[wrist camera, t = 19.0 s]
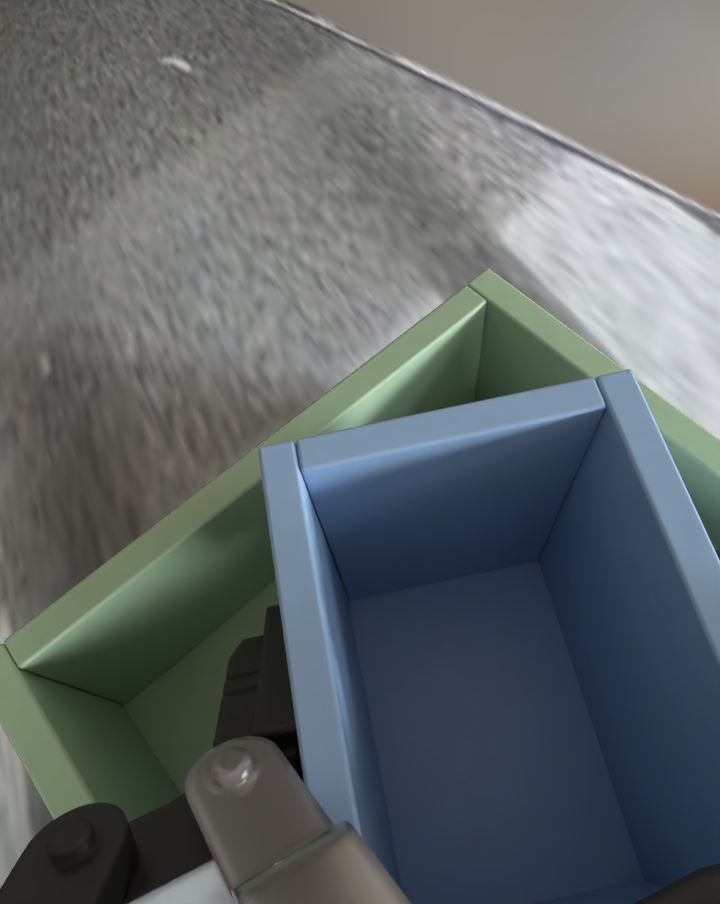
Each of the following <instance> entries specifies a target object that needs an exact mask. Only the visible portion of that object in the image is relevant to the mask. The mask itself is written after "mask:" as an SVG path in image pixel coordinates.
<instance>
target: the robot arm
mask: <svg viewBox="0 0 720 904" xmlns="http://www.w3.org/2000/svg"><path fill="white" fill-rule="evenodd" d="M715 552H716V554H717V556H718V558H719V560H720V551H719V550H717V549H715ZM0 904H412V903H411V902H410V901H409V899H408V898H407V897H406V896H405V894H404V893H403V892H402V890H401V889H400V888H399V886H398V885H397V884H396V882H395V881H394V880H393V878H392V877H391V876H390V874H389V873H388V872H387V870H386V869H385V868H384V866H383V865H382V864H381V862H380V861H379V860H378V858H377V857H376V856H375V854H374V853H373V852H372V850H371V849H370V848H369V846H368V845H367V844H366V842H365V841H364V840H363V838H362V837H361V836H360V834H359V833H358V832H357V831H356V829H355V828H354V827H353V826H352V825H351V824H350V823H349V822H348V821H347V820H342V821H341V822H339V823H337V824H336V825H334V824H333V823H332V821H331V820H330V818H329V817H328V816H327V814H326V813H325V811H324V810H323V809H322V807H321V806H320V805H319V803H318V802H317V800H316V799H315V798H314V796H313V795H312V793H311V792H310V791H309V789H308V788H307V786H306V785H305V784H304V781H303V774H302V766H301V759H300V752H299V745H298V737H297V730H296V723H295V716H294V708H293V701H292V694H291V687H290V679H289V672H288V665H287V658H286V650H285V643H284V636H283V629H282V621H281V614H280V607H279V605H275V606H270V607H267V608H266V616H265V625H264V634H263V635H261V636H256V637H252V638H247V639H243V640H242V642H241V643H240V644H239V646H238V647H237V648H236V650H235V651H234V652H233V654H232V655H231V656H230V658H229V662H228V667H227V672H226V681H225V683H224V689H223V696H222V699H221V705H220V710H219V716H218V721H217V726H216V732H215V737H214V743H213V748H212V749H211V750H209V751H208V752H207V753H205V754H204V755H203V756H202V757H201V758H200V759H199V760H198V761H197V762H196V763H195V764H194V765H193V767H192V768H191V770H190V772H189V773H188V776H187V778H186V782H185V793H183V794H182V795H181V796H179V797H178V798H176V799H175V800H173V801H172V802H170V803H168V804H166V805H164V806H162V807H160V808H158V809H156V810H154V811H152V812H149V813H147V814H145V815H143V816H141V817H139V818H137V819H135V820H133V821H130V822H128V821H127V818H126V816H125V813H124V812H123V811H122V809H121V808H119V807H118V806H116V805H114V804H111V803H104V802H103V803H92V804H87V805H83V806H80V807H77V808H75V809H72V810H70V811H68V812H66V813H64V814H63V815H61V816H59V817H58V818H56V819H55V820H53V821H52V822H50V823H49V824H48V825H47V826H45V827H44V828H43V829H42V830H41V831H40V832H39V833H38V834H37V835H36V836H35V837H34V838H33V839H32V840H31V841H30V843H29V844H28V845H27V847H26V848H25V850H24V851H23V853H22V855H21V856H20V858H19V859H18V861H17V863H16V864H15V866H14V868H13V869H12V871H11V873H10V874H9V876H8V877H7V879H6V881H5V882H4V884H3V886H2V887H1V889H0ZM634 904H720V864H715V865H711V866H706V867H702V868H699V869H697V870H695V871H693V872H692V873H690V874H688V875H686V876H684V877H682V878H681V879H679V880H677V881H675V882H673V883H671V884H669V885H668V886H666V887H664V888H662V889H660V890H658V891H656V892H655V893H653V894H651V895H649V896H647V897H645V898H644V899H642V900H640V901H638V902H636V903H634Z"/></svg>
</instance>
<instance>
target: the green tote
mask: <svg viewBox="0 0 720 904" xmlns="http://www.w3.org/2000/svg"><path fill="white" fill-rule="evenodd" d="M624 370H625V369H623V368H622V367H620V366H619V365H618V364H616V363H615V362H614V361H612V360H611V359H610V358H608V357H607V356H606V355H604V354H603V353H602V352H600V351H599V350H598V349H596V348H595V347H594V346H592V345H591V344H590V343H588V342H587V341H585V340H584V339H583V338H581V337H580V336H579V335H577V334H576V333H575V332H573V331H572V330H571V329H569V328H568V327H567V326H565V325H564V324H563V323H561V322H560V321H559V320H557V319H556V318H555V317H553V316H552V315H550V314H549V313H548V312H546V311H545V310H544V309H542V308H541V307H540V306H538V305H537V304H536V303H534V302H533V301H532V300H530V299H529V298H528V297H526V296H525V295H524V294H522V293H521V292H520V291H518V290H517V289H515V288H514V287H513V286H511V285H510V284H509V283H507V282H506V281H505V280H503V279H502V278H501V277H499V276H498V275H497V274H495V273H494V272H493V271H491V270H490V269H486V270H485V271H483V272H482V273H481V274H480V275H478V276H477V277H476V278H474V279H473V280H472V281H470V282H469V283H468V285H467V286H464V287H463V288H462V289H460V290H459V291H458V292H457V293H455V294H454V295H453V296H451V297H450V298H449V299H447V300H446V301H445V302H444V303H442V304H441V305H440V306H438V307H437V308H436V309H434V310H433V311H432V312H431V313H429V314H428V315H427V316H425V317H424V318H423V319H421V320H420V321H419V322H418V323H416V324H415V325H414V326H412V327H411V328H410V329H408V330H407V331H406V332H405V333H403V334H402V335H401V336H399V337H398V338H397V339H395V340H394V341H393V342H392V343H390V344H389V345H388V346H386V347H385V348H384V349H382V350H381V351H380V352H379V353H377V354H376V355H375V356H373V357H372V358H371V359H369V360H368V361H367V362H366V363H364V364H363V365H362V366H360V367H359V368H358V369H356V370H355V371H354V372H353V373H351V374H350V375H349V376H347V377H346V378H345V379H343V380H342V381H341V382H340V383H338V384H337V385H336V386H334V387H333V388H332V389H330V390H329V391H328V392H327V393H325V394H324V395H323V396H321V397H320V398H319V399H318V400H316V401H315V402H314V403H312V404H311V405H310V406H308V407H307V408H306V409H305V410H303V411H302V412H301V413H299V414H298V415H297V416H295V417H294V418H293V419H292V420H290V421H289V422H288V423H286V424H285V425H284V426H282V427H281V428H280V429H279V430H277V431H276V432H275V433H273V434H272V435H271V436H269V437H268V438H267V439H266V440H264V441H263V442H262V443H260V444H259V445H258V446H256V447H255V448H254V449H253V450H251V451H250V452H249V453H247V454H246V455H245V456H243V457H242V458H241V459H240V460H238V461H237V462H236V463H234V464H233V465H232V466H230V467H229V468H228V469H227V470H225V471H224V472H223V473H221V474H220V475H219V476H217V477H216V478H215V479H214V480H212V481H211V482H210V483H208V484H207V485H206V486H204V487H203V488H202V489H201V490H199V491H198V492H197V493H195V494H194V495H193V496H191V497H190V498H189V499H188V500H186V501H185V502H184V503H182V504H181V505H180V506H178V507H177V508H176V509H175V510H173V511H172V512H171V513H169V514H168V515H167V516H165V517H164V518H163V519H162V520H160V521H159V522H158V523H156V524H155V525H154V526H152V527H151V528H150V529H149V530H147V531H146V532H145V533H143V534H142V535H141V536H139V537H138V538H137V539H136V540H134V541H133V542H132V543H130V544H129V545H128V546H126V547H125V548H124V549H123V550H121V551H120V552H119V553H117V554H116V555H115V556H113V557H112V558H111V559H110V560H108V561H107V562H106V563H104V564H103V565H102V566H100V567H99V568H98V569H97V570H95V571H94V572H93V573H91V574H90V575H89V576H87V577H86V578H85V579H84V580H82V581H81V582H80V583H78V584H77V585H76V586H74V587H73V588H72V589H71V590H69V591H68V592H67V593H65V594H64V595H63V596H61V597H60V598H59V599H58V600H56V601H55V602H54V603H52V604H51V605H50V606H48V607H47V608H46V609H45V610H43V611H42V612H41V613H39V614H38V615H37V616H36V617H34V618H33V619H32V620H30V621H29V622H28V623H26V624H25V625H24V626H23V627H21V628H20V629H19V630H17V631H16V632H15V633H13V634H12V635H11V636H10V637H8V638H7V639H6V640H5V641H4V642H5V644H0V724H1V725H2V727H3V729H4V731H5V733H6V734H7V736H8V738H9V740H10V742H11V743H12V745H13V747H14V749H15V751H16V752H17V754H18V756H19V758H20V760H21V761H22V763H23V765H24V767H25V769H26V770H27V772H28V774H29V776H30V778H31V779H32V781H33V783H34V785H35V787H36V788H37V790H38V792H39V794H40V796H41V797H42V799H43V801H44V803H45V805H46V807H47V808H48V810H49V812H50V814H51V816H52V817H53V819H54V820H55V819H56V818H58V817H59V816H61V815H63V814H64V813H66V812H68V811H70V810H72V809H75V808H77V807H80V806H83V805H87V804H92V803H103V802H104V803H111V804H114V805H116V806H118V807H119V808H121V809H122V811H123V812H124V813H125V816H126V818H127V821H128V822H130V821H133V820H135V819H137V818H139V817H141V816H143V815H145V814H147V813H149V812H152V811H154V810H156V809H158V808H160V807H162V806H164V805H166V804H168V803H170V802H172V801H173V800H175V799H176V798H178V797H179V796H181V795H182V794H183V793H185V782H186V778H187V776H188V773H189V772H190V770H191V768H192V767H193V765H194V764H195V763H196V762H197V761H198V760H199V759H200V758H201V757H202V756H203V755H204V754H205V753H207V752H208V751H209V750H211V749H212V748H213V743H214V737H215V732H216V726H217V721H218V716H219V710H220V705H221V699H222V696H223V689H224V683H225V681H226V672H227V667H228V662H229V658H230V656H231V655H232V654H233V652H234V651H235V650H236V648H237V647H238V646H239V644H240V643H241V642H242V640H243V639H247V638H252V637H256V636H261V635H263V634H264V625H265V616H266V608H267V607H270V606H275V605H279V600H278V592H277V585H276V578H275V571H274V563H273V556H272V549H271V542H270V534H269V527H268V520H267V513H266V505H265V498H264V491H263V484H262V476H261V469H260V462H259V455H258V451H259V448H260V447H262V446H267V445H272V444H277V443H281V442H286V441H294V442H295V444H296V442H297V440H298V439H301V438H305V437H310V436H315V435H320V434H324V433H329V432H334V431H339V430H344V429H348V428H353V427H358V426H363V425H367V424H372V423H377V422H382V421H386V420H391V419H396V418H401V417H405V416H410V415H415V414H420V413H424V412H429V411H434V410H439V409H444V408H448V407H453V406H458V405H463V404H467V403H472V402H477V401H482V400H486V399H491V398H496V397H501V396H505V395H510V394H515V393H520V392H525V391H529V390H534V389H539V388H544V387H548V386H553V385H558V384H563V383H567V382H572V381H577V380H582V379H586V378H594V379H596V377H598V376H600V375H605V374H610V373H614V372H619V371H624ZM636 380H637V382H638V385H639V387H640V389H641V391H642V393H643V395H644V398H645V400H646V402H647V404H648V406H649V408H650V411H651V413H652V415H653V417H654V419H655V421H656V424H657V426H658V428H659V430H660V432H661V435H662V437H663V439H664V441H665V443H666V445H667V448H668V450H669V452H670V454H671V456H672V458H673V461H674V463H675V465H676V467H677V469H678V471H679V474H680V476H681V478H682V480H683V482H684V484H685V487H686V489H687V491H688V493H689V495H690V497H691V500H692V502H693V504H694V506H695V508H696V510H697V513H698V515H699V517H700V519H701V521H702V523H703V526H704V528H705V530H706V532H707V534H708V536H709V539H710V541H711V543H712V545H713V547H714V549H717V550H719V551H720V440H719V439H717V438H716V437H715V436H713V435H712V434H711V433H709V432H708V431H707V430H705V429H704V428H703V427H701V426H700V425H699V424H697V423H696V422H695V421H693V420H692V419H690V418H689V417H688V416H686V415H685V414H684V413H682V412H681V411H680V410H678V409H677V408H676V407H674V406H673V405H672V404H670V403H669V402H668V401H666V400H665V399H664V398H662V397H661V396H660V395H658V394H657V393H655V392H654V391H653V390H651V389H650V388H649V387H647V386H646V385H645V384H643V383H642V382H641V381H639V380H638V379H637V378H636Z"/></svg>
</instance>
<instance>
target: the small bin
mask: <svg viewBox="0 0 720 904" xmlns="http://www.w3.org/2000/svg"><path fill="white" fill-rule="evenodd" d="M258 455H259V462H260V469H261V476H262V484H263V491H264V498H265V505H266V513H267V520H268V527H269V534H270V542H271V549H272V556H273V563H274V571H275V578H276V585H277V592H278V600H279V607H280V614H281V621H282V629H283V636H284V643H285V650H286V658H287V665H288V672H289V679H290V687H291V694H292V701H293V708H294V716H295V723H296V730H297V737H298V745H299V752H300V759H301V766H302V774H303V781H304V784H305V785H306V786H307V788H308V789H309V791H310V792H311V793H312V795H313V796H314V798H315V799H316V800H317V802H318V803H319V805H320V806H321V807H322V809H323V810H324V811H325V813H326V814H327V816H328V817H329V818H330V820H331V821H332V823H333V824H334V825H336V824H337V823H339V822H341V821H342V820H347V821H348V822H349V823H350V824H351V825H352V826H353V827H354V828H355V829H356V831H357V832H358V833H359V834H360V836H361V837H362V838H363V840H364V841H365V842H366V844H367V845H368V846H369V848H370V849H371V850H372V852H373V853H374V854H375V856H376V857H377V858H378V860H379V861H380V862H381V864H382V865H383V866H384V868H385V869H386V870H387V872H388V873H389V874H390V876H391V877H392V878H393V880H394V881H395V882H396V884H397V885H398V886H399V888H400V889H401V890H402V892H403V893H404V894H405V896H406V897H407V898H408V899H409V901H410V902H411V903H412V904H634V903H636V902H638V901H640V900H642V899H644V898H645V897H647V896H649V895H651V894H653V893H655V892H656V891H658V890H660V889H662V888H664V887H666V886H668V885H669V884H671V883H673V882H675V881H677V880H679V879H681V878H682V877H684V876H686V875H688V874H690V873H692V872H693V871H695V870H697V869H699V868H702V867H706V866H711V865H715V864H720V560H719V558H718V556H717V554H716V552H715V549H714V547H713V545H712V543H711V541H710V539H709V536H708V534H707V532H706V530H705V528H704V526H703V523H702V521H701V519H700V517H699V515H698V513H697V510H696V508H695V506H694V504H693V502H692V500H691V497H690V495H689V493H688V491H687V489H686V487H685V484H684V482H683V480H682V478H681V476H680V474H679V471H678V469H677V467H676V465H675V463H674V461H673V458H672V456H671V454H670V452H669V450H668V448H667V445H666V443H665V441H664V439H663V437H662V435H661V432H660V430H659V428H658V426H657V424H656V421H655V419H654V417H653V415H652V413H651V411H650V408H649V406H648V404H647V402H646V400H645V398H644V395H643V393H642V391H641V389H640V387H639V385H638V382H637V380H636V378H635V376H634V374H633V372H632V371H631V370H624V371H619V372H614V373H610V374H605V375H600V376H598V377H596V379H594V378H586V379H582V380H577V381H572V382H567V383H563V384H558V385H553V386H548V387H544V388H539V389H534V390H529V391H525V392H520V393H515V394H510V395H505V396H501V397H496V398H491V399H486V400H482V401H477V402H472V403H467V404H463V405H458V406H453V407H448V408H444V409H439V410H434V411H429V412H424V413H420V414H415V415H410V416H405V417H401V418H396V419H391V420H386V421H382V422H377V423H372V424H367V425H363V426H358V427H353V428H348V429H344V430H339V431H334V432H329V433H324V434H320V435H315V436H310V437H305V438H301V439H298V440H297V442H296V444H295V442H294V441H286V442H281V443H277V444H272V445H267V446H262V447H260V448H259V451H258Z"/></svg>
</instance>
